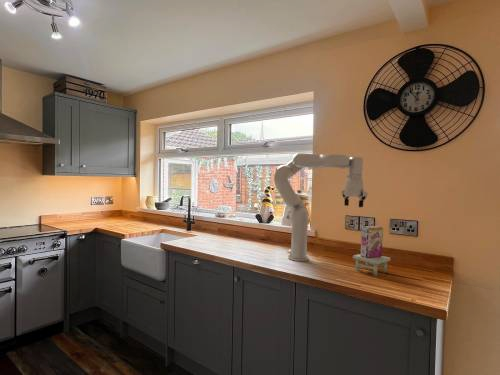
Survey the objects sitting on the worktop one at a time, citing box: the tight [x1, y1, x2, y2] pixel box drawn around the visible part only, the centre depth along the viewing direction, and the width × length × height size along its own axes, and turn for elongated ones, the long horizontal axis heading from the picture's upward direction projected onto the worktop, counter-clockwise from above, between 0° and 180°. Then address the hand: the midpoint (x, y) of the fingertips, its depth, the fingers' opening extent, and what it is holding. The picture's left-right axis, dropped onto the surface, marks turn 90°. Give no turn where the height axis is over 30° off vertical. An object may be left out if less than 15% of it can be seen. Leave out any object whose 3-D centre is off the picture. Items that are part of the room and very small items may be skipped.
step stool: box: [352, 253, 391, 277], centre depth 162 cm, size 14×14×8 cm
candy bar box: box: [360, 225, 384, 258], centre depth 162 cm, size 11×5×16 cm, turn 113°
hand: (353, 206), depth 176 cm, fingers open, 9 cm apart
